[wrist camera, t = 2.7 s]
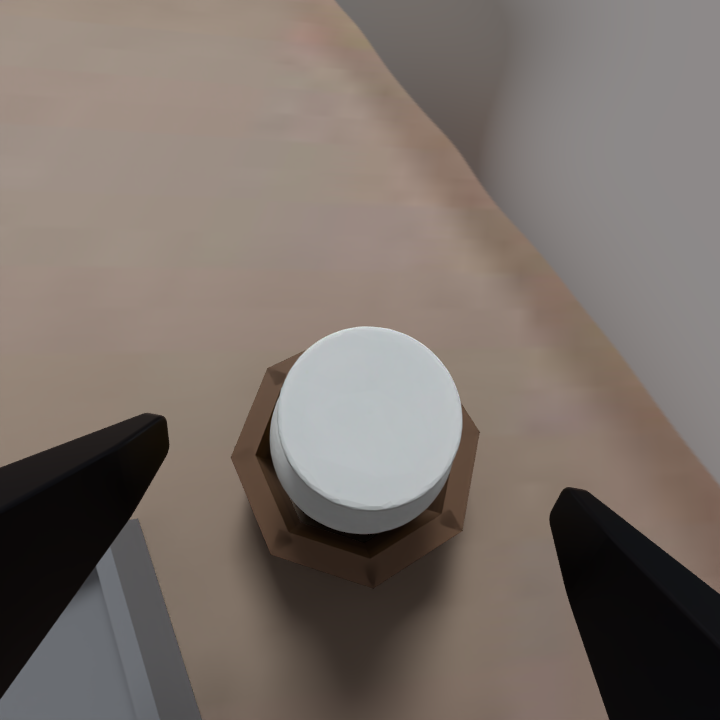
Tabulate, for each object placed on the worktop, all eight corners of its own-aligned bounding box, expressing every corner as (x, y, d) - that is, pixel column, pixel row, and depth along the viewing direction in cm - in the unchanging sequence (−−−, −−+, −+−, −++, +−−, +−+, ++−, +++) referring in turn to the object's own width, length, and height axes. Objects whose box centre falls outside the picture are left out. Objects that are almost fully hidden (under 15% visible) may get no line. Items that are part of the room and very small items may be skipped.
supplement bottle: (378, 539, 15) (430, 617, 6) (274, 476, 16) (184, 464, 7) (431, 430, 17) (531, 367, 8) (334, 377, 18) (325, 263, 9)
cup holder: (483, 492, 16) (519, 494, 13) (312, 600, 14) (303, 634, 11) (389, 337, 18) (399, 305, 15) (232, 414, 17) (205, 397, 13)
